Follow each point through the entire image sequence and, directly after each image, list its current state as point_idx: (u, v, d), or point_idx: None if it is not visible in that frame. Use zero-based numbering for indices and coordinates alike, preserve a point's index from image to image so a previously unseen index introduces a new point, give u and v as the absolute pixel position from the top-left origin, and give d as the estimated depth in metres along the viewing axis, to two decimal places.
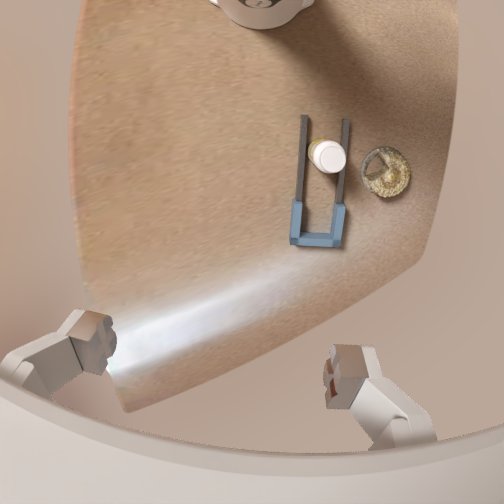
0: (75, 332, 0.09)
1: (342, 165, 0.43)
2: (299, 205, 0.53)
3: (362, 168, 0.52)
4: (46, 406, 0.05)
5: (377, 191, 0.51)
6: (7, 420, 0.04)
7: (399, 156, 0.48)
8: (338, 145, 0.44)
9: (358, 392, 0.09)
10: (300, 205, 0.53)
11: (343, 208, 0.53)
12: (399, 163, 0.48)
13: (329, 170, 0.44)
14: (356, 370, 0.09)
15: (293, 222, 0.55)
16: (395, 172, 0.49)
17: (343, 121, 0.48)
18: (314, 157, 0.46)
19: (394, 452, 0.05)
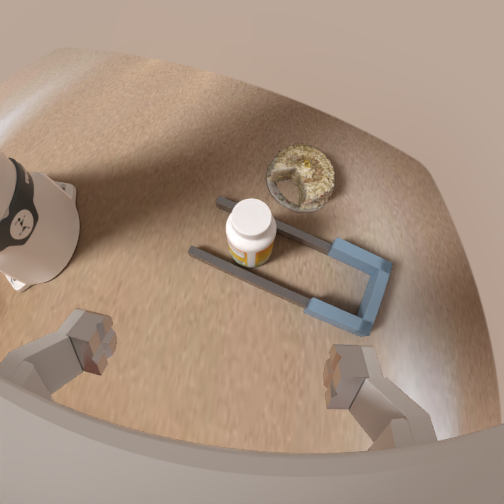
0: (76, 332, 0.09)
1: (264, 206, 0.30)
2: (314, 301, 0.34)
3: (287, 206, 0.40)
4: (46, 406, 0.05)
5: (322, 191, 0.38)
6: (7, 420, 0.04)
7: (282, 151, 0.40)
8: None
9: (358, 392, 0.09)
10: (314, 300, 0.34)
11: (337, 240, 0.36)
12: (291, 152, 0.39)
13: (265, 226, 0.29)
14: (356, 370, 0.09)
15: (336, 320, 0.33)
16: (302, 161, 0.39)
17: (218, 204, 0.39)
18: (242, 247, 0.31)
19: (394, 452, 0.05)
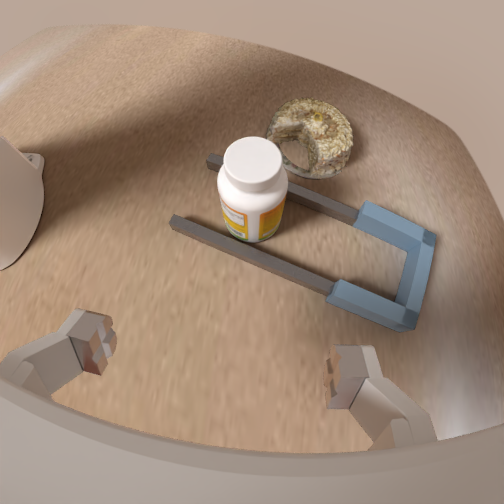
0: (76, 332, 0.09)
1: (271, 145, 0.20)
2: (341, 285, 0.24)
3: (294, 171, 0.30)
4: (46, 406, 0.05)
5: (339, 150, 0.28)
6: (7, 420, 0.04)
7: (285, 105, 0.30)
8: None
9: (358, 392, 0.09)
10: (342, 283, 0.24)
11: (367, 204, 0.26)
12: (296, 106, 0.30)
13: (273, 171, 0.20)
14: (356, 370, 0.09)
15: (372, 309, 0.23)
16: (311, 115, 0.29)
17: (210, 164, 0.30)
18: (241, 205, 0.22)
19: (394, 452, 0.05)
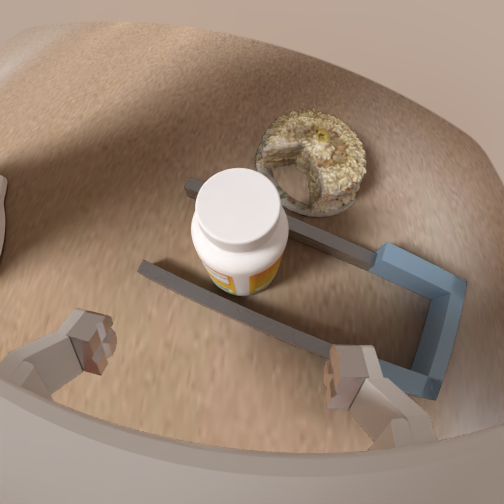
0: (75, 332, 0.09)
1: (264, 182, 0.14)
2: None
3: (291, 208, 0.24)
4: (46, 406, 0.05)
5: (349, 181, 0.22)
6: (7, 420, 0.04)
7: (279, 119, 0.24)
8: None
9: (358, 392, 0.09)
10: None
11: (388, 247, 0.20)
12: (294, 121, 0.23)
13: (267, 224, 0.14)
14: (356, 370, 0.09)
15: None
16: (312, 133, 0.23)
17: (190, 192, 0.24)
18: (222, 267, 0.16)
19: (394, 452, 0.05)
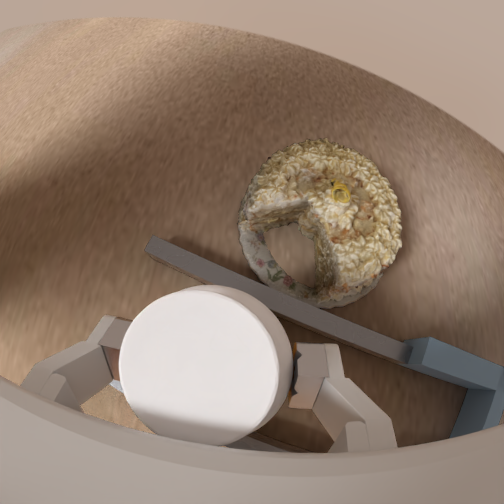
0: (108, 340, 0.09)
1: (248, 327, 0.07)
2: None
3: None
4: (46, 406, 0.05)
5: (378, 266, 0.14)
6: (7, 420, 0.04)
7: (274, 158, 0.16)
8: None
9: (319, 392, 0.09)
10: None
11: (431, 345, 0.13)
12: (297, 161, 0.16)
13: (252, 418, 0.06)
14: (316, 369, 0.09)
15: None
16: (325, 183, 0.15)
17: (153, 256, 0.17)
18: None
19: (394, 452, 0.05)
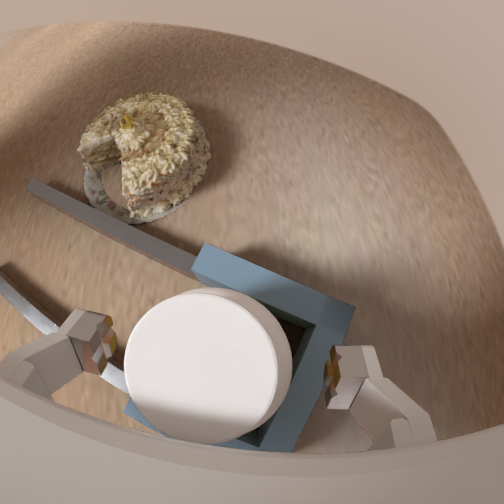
0: (75, 332, 0.09)
1: (248, 328, 0.07)
2: None
3: None
4: (46, 406, 0.05)
5: (155, 174, 0.16)
6: (7, 420, 0.04)
7: None
8: None
9: (358, 392, 0.09)
10: None
11: (206, 251, 0.15)
12: (115, 110, 0.18)
13: (252, 416, 0.07)
14: (356, 370, 0.09)
15: None
16: None
17: (31, 192, 0.18)
18: None
19: (394, 452, 0.05)
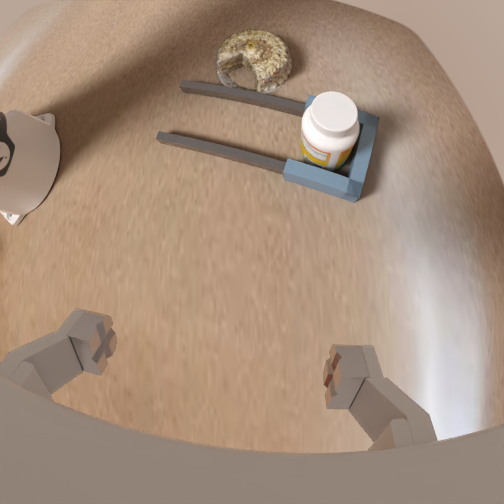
0: (76, 332, 0.09)
1: (346, 98, 0.22)
2: (289, 163, 0.29)
3: None
4: (46, 406, 0.05)
5: (274, 68, 0.30)
6: (7, 420, 0.04)
7: (225, 41, 0.31)
8: None
9: (358, 392, 0.09)
10: (289, 161, 0.29)
11: (310, 98, 0.29)
12: (234, 40, 0.30)
13: (352, 121, 0.22)
14: (356, 370, 0.09)
15: (318, 180, 0.29)
16: (247, 45, 0.30)
17: (183, 88, 0.33)
18: (327, 147, 0.25)
19: (394, 452, 0.05)
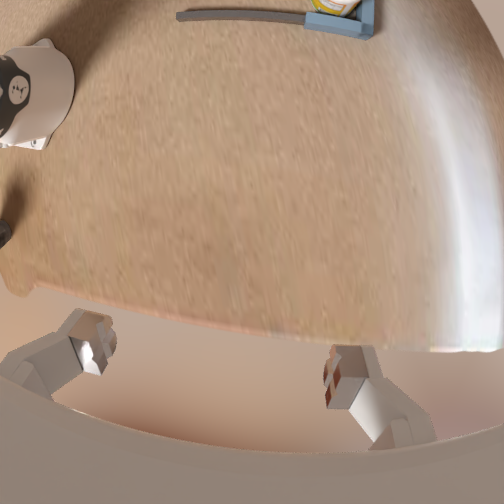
0: (75, 332, 0.09)
1: None
2: (309, 15, 0.26)
3: None
4: (46, 406, 0.05)
5: None
6: (7, 420, 0.04)
7: None
8: None
9: (358, 392, 0.09)
10: (309, 14, 0.26)
11: None
12: None
13: None
14: (356, 370, 0.09)
15: (336, 26, 0.26)
16: None
17: None
18: (343, 1, 0.22)
19: (394, 452, 0.05)
